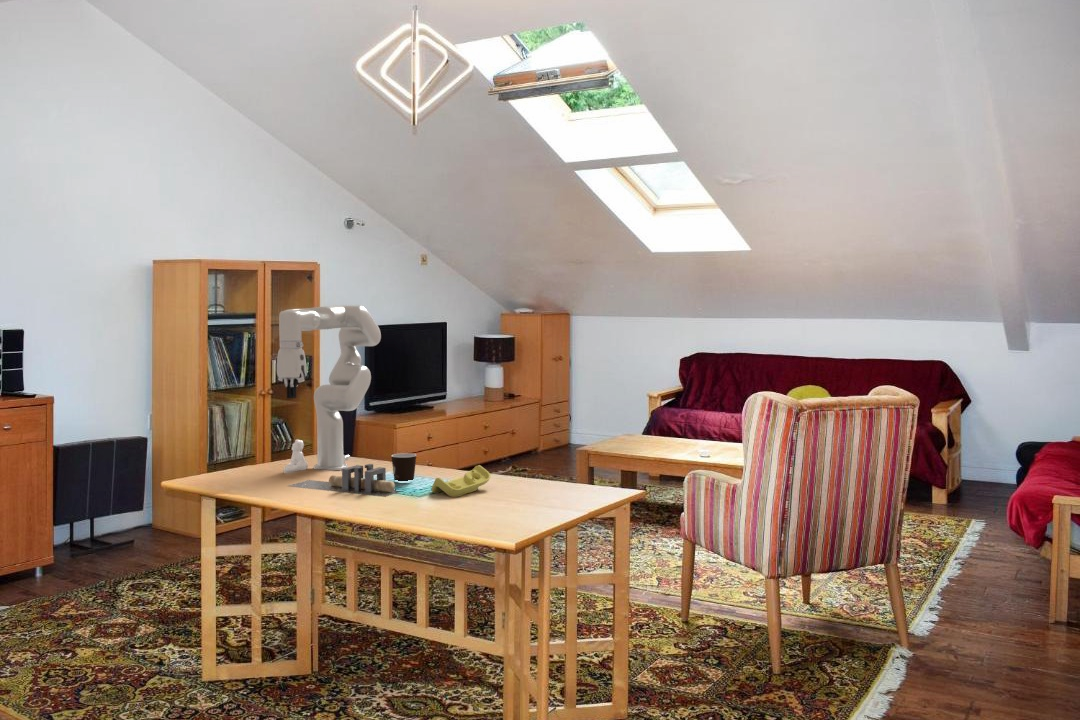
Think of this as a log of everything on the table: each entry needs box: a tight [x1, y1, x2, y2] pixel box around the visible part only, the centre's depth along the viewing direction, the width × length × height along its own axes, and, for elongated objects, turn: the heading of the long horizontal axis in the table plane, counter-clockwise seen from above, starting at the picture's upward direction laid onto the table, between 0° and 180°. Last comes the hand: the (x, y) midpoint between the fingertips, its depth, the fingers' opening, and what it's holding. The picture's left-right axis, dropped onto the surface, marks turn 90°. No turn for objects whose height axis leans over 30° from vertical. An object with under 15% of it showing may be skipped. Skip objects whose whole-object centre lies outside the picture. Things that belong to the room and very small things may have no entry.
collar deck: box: [287, 463, 403, 498], centre depth 321 cm, size 12×40×9 cm, turn 65°
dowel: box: [328, 474, 396, 492], centre depth 320 cm, size 24×4×4 cm, turn 65°
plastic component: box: [430, 464, 491, 498], centre depth 321 cm, size 20×7×10 cm
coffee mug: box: [391, 452, 417, 481], centre depth 334 cm, size 12×9×10 cm
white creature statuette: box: [283, 439, 309, 474], centre depth 357 cm, size 10×9×12 cm
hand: (291, 397), depth 338 cm, fingers closed
